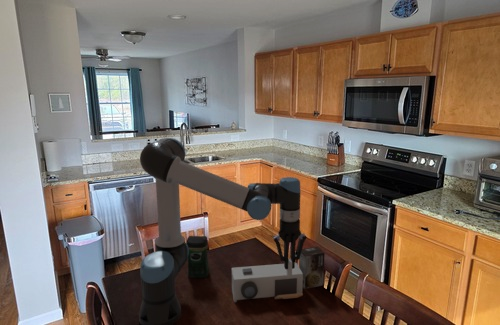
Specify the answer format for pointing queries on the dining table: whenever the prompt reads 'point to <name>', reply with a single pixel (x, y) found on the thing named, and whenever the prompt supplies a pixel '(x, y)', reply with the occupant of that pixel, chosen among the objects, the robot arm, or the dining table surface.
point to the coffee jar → (197, 257)
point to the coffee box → (312, 267)
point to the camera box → (265, 281)
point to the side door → (289, 296)
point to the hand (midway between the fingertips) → (289, 275)
